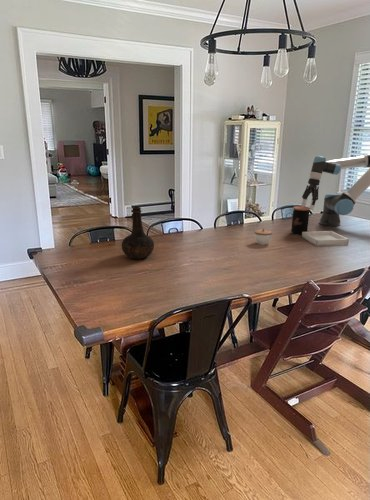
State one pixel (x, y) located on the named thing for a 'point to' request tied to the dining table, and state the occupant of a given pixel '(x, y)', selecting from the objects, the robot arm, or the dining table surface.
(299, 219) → the coffee jar
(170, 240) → the dining table surface
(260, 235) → the lidded jar
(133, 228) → the glass bottle
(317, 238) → the tray
